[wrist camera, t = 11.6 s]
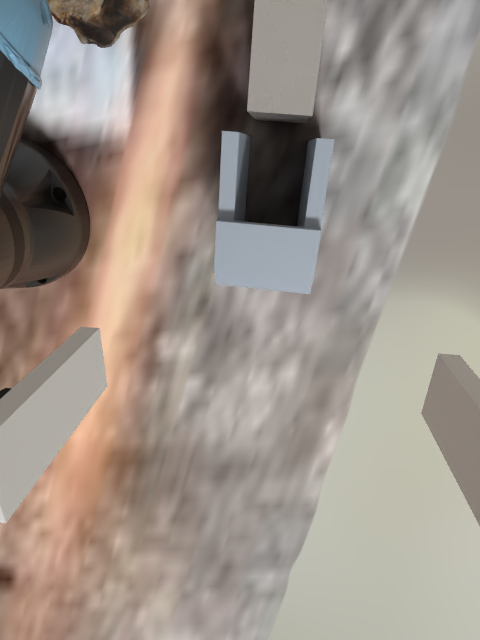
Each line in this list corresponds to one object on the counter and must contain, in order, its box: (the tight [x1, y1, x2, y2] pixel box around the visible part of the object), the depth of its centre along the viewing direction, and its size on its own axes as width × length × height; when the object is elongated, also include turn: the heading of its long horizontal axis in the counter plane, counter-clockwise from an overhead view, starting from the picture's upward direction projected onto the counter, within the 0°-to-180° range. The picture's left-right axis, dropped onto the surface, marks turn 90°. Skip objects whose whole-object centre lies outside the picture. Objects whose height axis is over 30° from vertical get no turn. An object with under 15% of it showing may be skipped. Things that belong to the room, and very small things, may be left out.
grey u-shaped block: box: [214, 131, 335, 294], centre depth 33 cm, size 8×11×11 cm
